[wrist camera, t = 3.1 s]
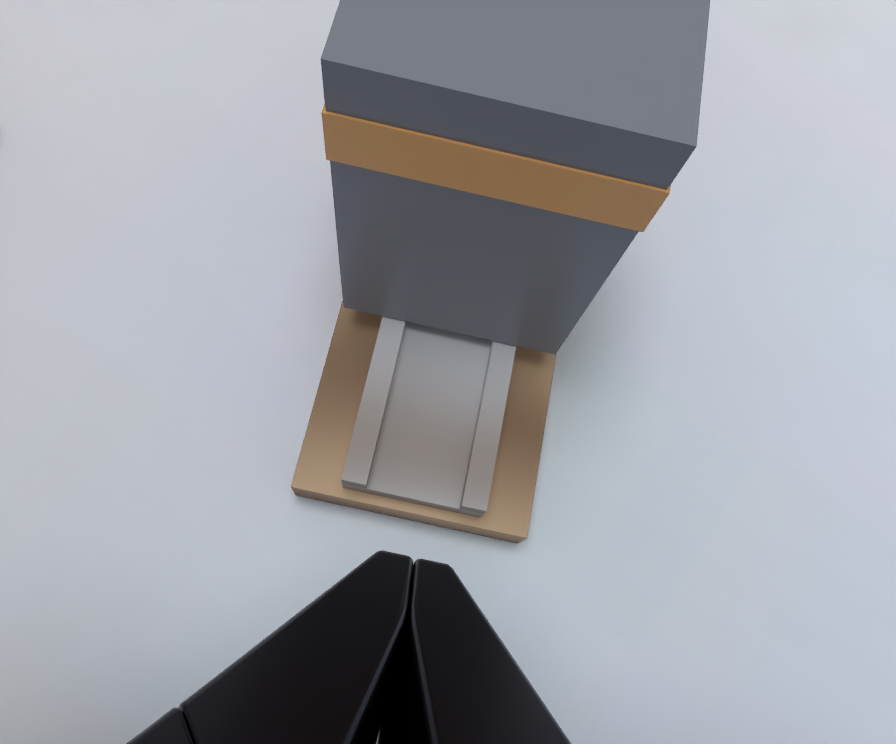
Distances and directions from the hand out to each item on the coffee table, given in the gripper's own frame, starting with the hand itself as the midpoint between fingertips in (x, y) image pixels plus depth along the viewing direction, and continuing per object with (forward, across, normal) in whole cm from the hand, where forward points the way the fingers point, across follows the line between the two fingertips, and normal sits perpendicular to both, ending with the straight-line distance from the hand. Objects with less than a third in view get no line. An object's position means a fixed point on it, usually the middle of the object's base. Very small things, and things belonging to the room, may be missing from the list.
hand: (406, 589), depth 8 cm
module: (+12, 0, +1) cm, 12 cm away
